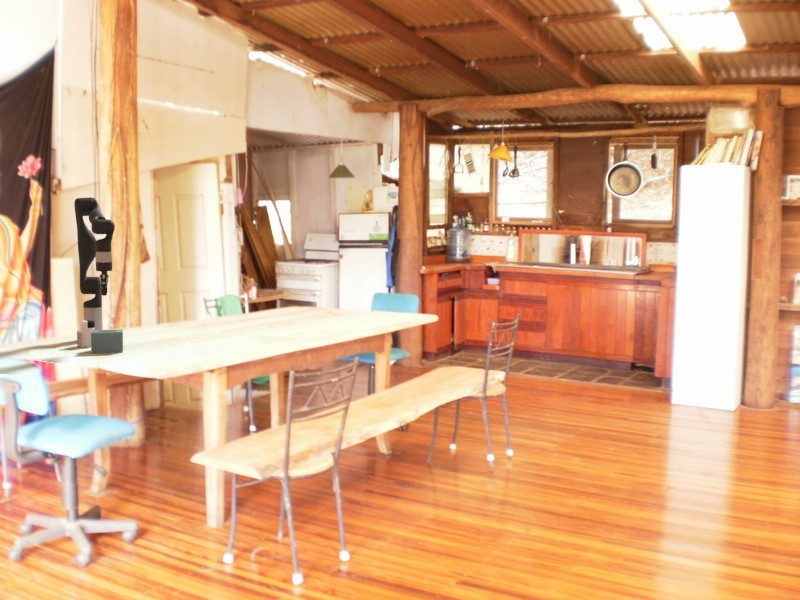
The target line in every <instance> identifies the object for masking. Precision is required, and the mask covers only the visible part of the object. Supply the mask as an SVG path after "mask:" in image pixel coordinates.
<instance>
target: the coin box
mask: <svg viewBox="0 0 800 600" xmlns="http://www.w3.org/2000/svg"><path fill="white" fill-rule="evenodd" d="M123 350H124V330H123V329H102V330H92V332H91V347H90V351H91V354H109V353H110V354H113V353H124V351H123Z"/></svg>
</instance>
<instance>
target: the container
mask: <svg viewBox="0 0 800 600" xmlns="http://www.w3.org/2000/svg"><path fill="white" fill-rule="evenodd" d="M94 329H95V322H94V321H93V320H84V319H83V320H82V321H80V330H77V331H76V346H77V347H81V348H85V347H87V348H91V332H92V330H94Z"/></svg>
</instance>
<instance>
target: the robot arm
mask: <svg viewBox="0 0 800 600" xmlns="http://www.w3.org/2000/svg"><path fill="white" fill-rule="evenodd" d="M74 199H75V198H74ZM74 213H75V220H76V221H75V222H76V231H77V232H76V233H77V234H76V235H77V236H76V237H77V251H78V253H77V254H78V261H79V263H78V264H79V291H80V293H81V295H94V297H93V298H90V299H88V300H86V301H85V300H84V302H83V304H82V305H83V306H82V307H83V309H82V310H83V311H82V312H83V320H93V321H94V322H95V329H94V330H103V298H102V297H104V296H107V294H108V285H109V278H110V277H109V276H110V275H109V274H108V273H109V272H112V271H113V254H112V253H113V252H112V241H113V235H114V232H115V229H116V227H115V222H114V221H113V220H112V219H106V217H105V215H104V214H103V213H102V210H101V207H100V205H99V202H98V200H97V199H96V198H95V197H91V196H90V197H78V198H76V199H75V200H74ZM84 217H88V221H89V222H90V224H91V230H90V229H89V228H88V226H87V225H86V223H85V221H84ZM91 231H92V232H91ZM94 234H96V235H105V237H104V238H100V239H96V237H95V236H94ZM94 259H95V271H96V272H101V274H99V276H87V274H88V273H87V272H88V270H89V268H90V266H91V264H92V263H93V261H94Z"/></svg>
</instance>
